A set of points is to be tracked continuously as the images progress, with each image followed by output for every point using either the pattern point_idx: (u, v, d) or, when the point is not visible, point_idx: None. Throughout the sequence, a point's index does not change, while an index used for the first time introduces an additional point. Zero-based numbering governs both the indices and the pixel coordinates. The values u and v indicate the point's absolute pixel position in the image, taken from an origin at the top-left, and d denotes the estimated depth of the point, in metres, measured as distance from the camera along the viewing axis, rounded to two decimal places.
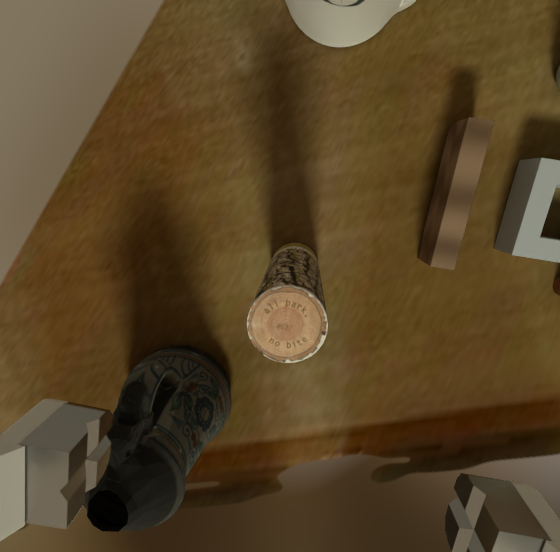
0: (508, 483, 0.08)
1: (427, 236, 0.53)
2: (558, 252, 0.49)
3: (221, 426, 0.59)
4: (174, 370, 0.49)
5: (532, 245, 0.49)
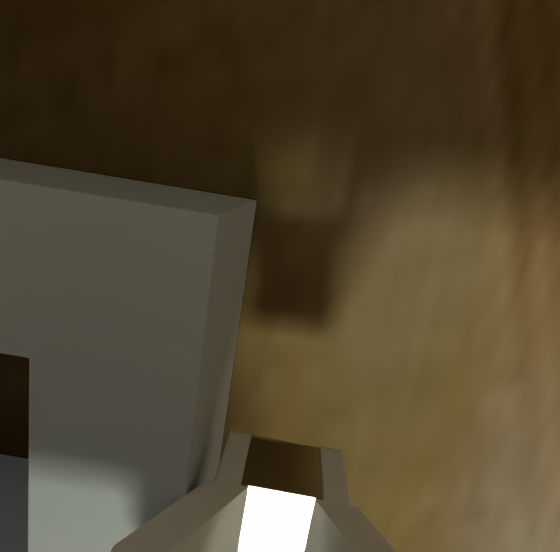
0: (317, 448, 0.08)
1: None
2: None
3: None
4: None
5: None
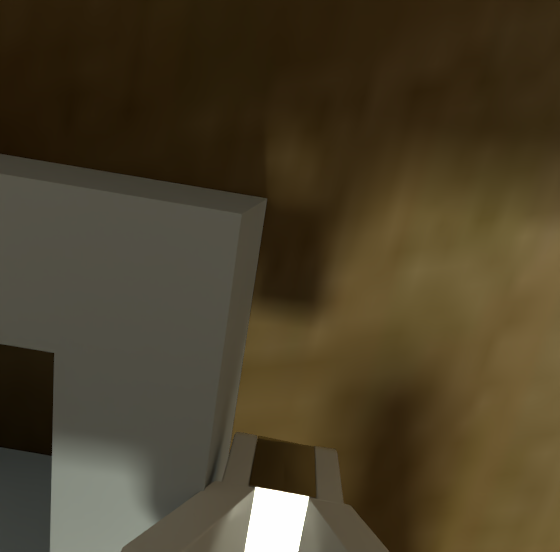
0: (312, 447, 0.08)
1: None
2: None
3: None
4: None
5: None
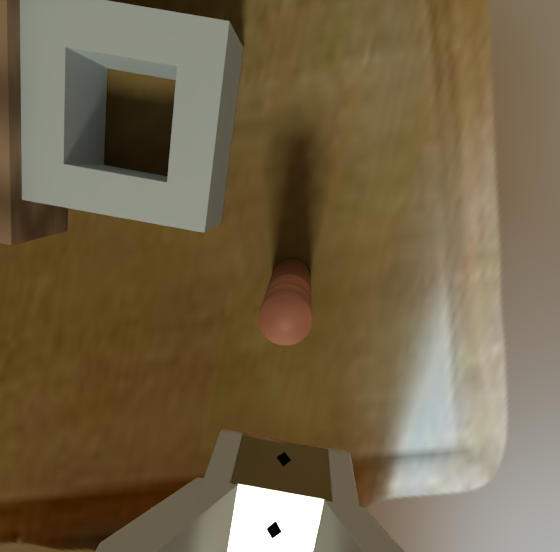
0: (324, 450, 0.08)
1: None
2: (106, 195, 0.25)
3: None
4: None
5: (54, 180, 0.25)
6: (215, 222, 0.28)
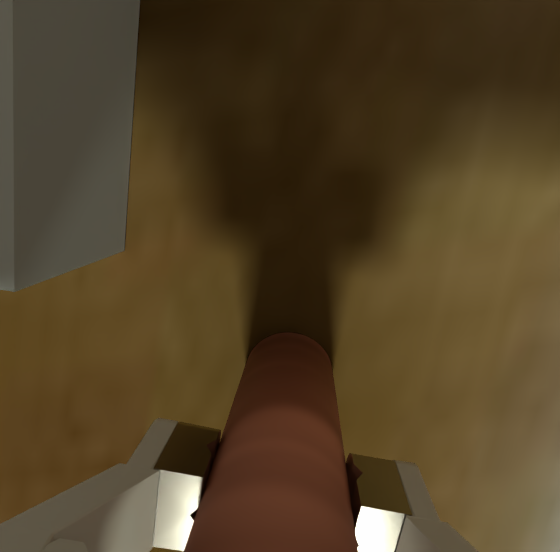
0: (392, 461, 0.08)
1: None
2: None
3: None
4: None
5: None
6: (91, 253, 0.11)
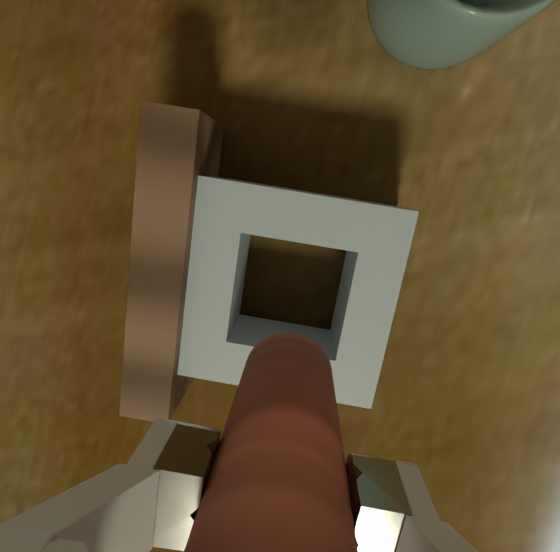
0: (392, 461, 0.08)
1: None
2: None
3: None
4: None
5: (214, 357, 0.24)
6: None
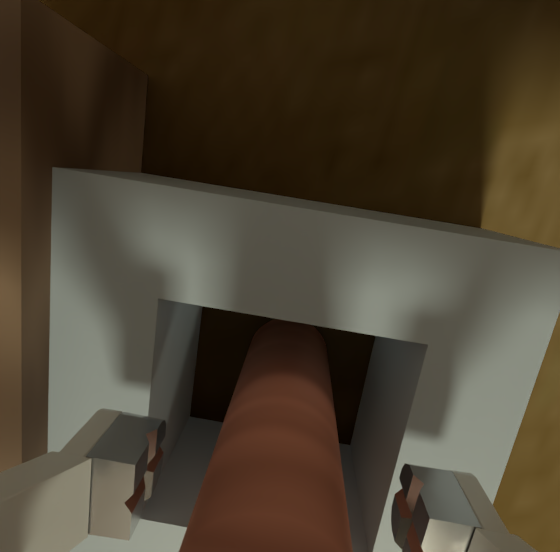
0: (450, 472, 0.08)
1: None
2: None
3: None
4: None
5: (117, 546, 0.11)
6: None
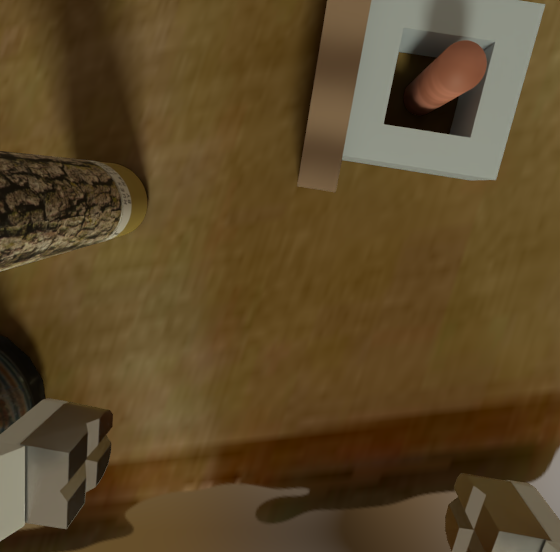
0: (509, 482, 0.08)
1: None
2: (416, 150, 0.30)
3: None
4: None
5: (373, 138, 0.30)
6: None
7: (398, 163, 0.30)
